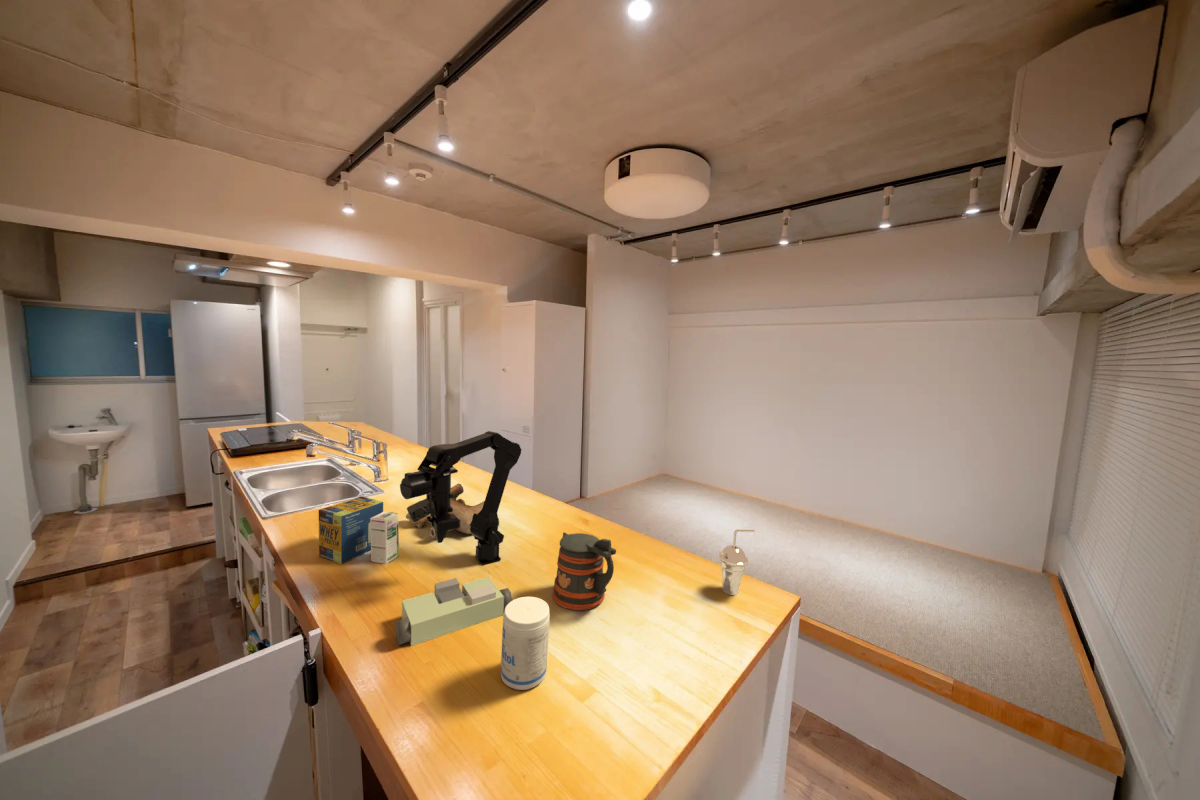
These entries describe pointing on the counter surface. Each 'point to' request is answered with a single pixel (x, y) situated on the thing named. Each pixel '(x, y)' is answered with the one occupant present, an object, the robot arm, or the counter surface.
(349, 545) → the protein box
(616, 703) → the counter surface
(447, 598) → the grey stepped block
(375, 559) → the syrup box
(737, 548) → the cup with straw
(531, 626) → the supplement tub
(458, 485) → the tan knobby branched lump
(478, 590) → the green roller block
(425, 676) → the counter surface
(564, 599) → the beer stein
